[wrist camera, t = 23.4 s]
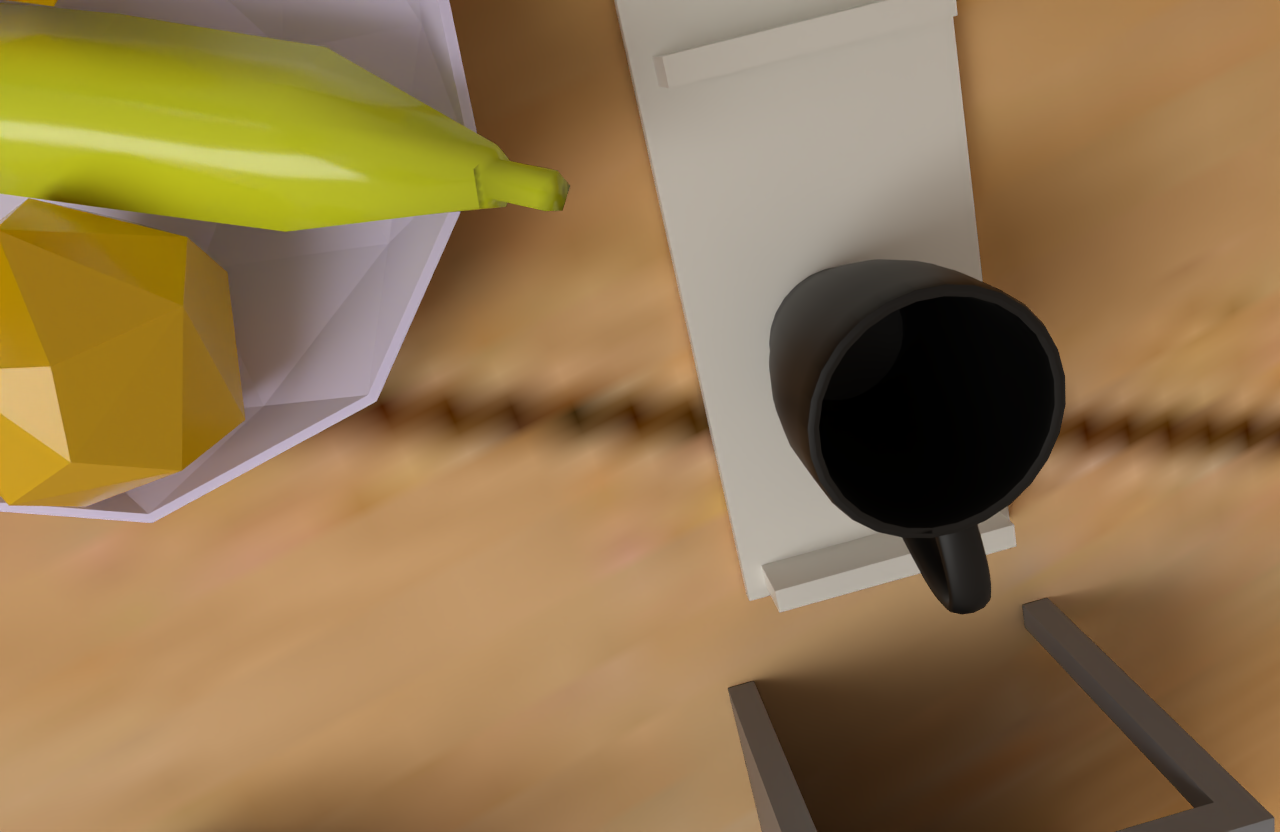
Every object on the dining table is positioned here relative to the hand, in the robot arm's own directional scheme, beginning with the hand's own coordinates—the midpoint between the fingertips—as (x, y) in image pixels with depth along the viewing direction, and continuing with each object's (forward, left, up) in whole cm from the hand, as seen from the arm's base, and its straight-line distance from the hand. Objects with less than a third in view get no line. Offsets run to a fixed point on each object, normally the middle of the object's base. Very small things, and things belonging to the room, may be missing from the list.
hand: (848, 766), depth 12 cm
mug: (+6, +8, -28) cm, 29 cm away
